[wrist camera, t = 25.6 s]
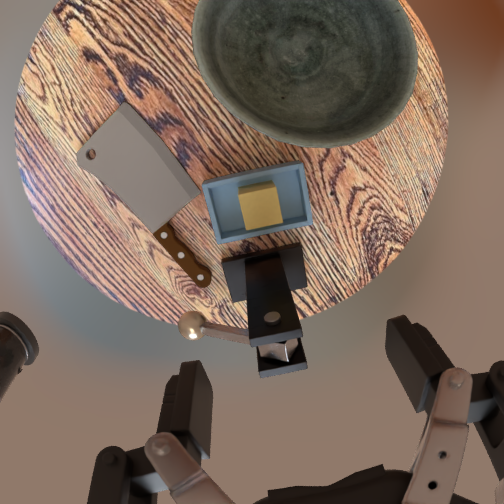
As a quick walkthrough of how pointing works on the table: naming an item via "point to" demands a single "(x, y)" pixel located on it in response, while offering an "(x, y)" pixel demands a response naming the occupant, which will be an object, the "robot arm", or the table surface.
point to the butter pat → (260, 204)
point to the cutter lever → (231, 335)
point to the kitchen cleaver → (144, 180)
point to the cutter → (270, 300)
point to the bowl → (308, 65)
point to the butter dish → (226, 187)
